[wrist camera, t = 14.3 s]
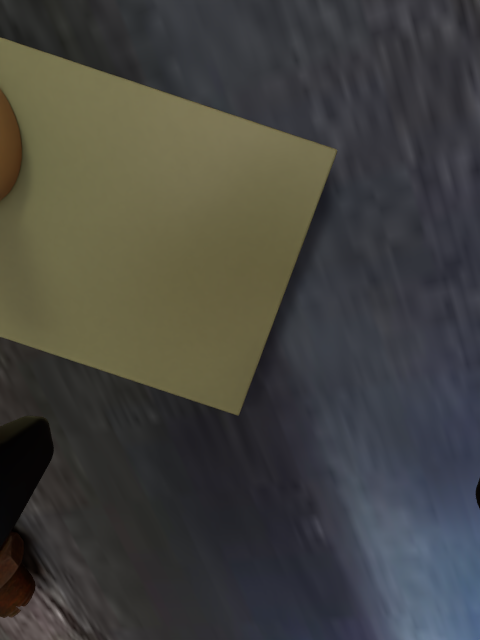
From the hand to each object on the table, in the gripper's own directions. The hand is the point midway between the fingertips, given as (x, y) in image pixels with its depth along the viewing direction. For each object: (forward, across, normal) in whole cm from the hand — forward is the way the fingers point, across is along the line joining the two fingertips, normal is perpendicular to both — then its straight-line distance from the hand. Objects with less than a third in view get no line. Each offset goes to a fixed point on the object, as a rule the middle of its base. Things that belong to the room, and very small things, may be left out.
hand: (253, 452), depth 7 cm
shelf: (+13, +9, -3) cm, 16 cm away
